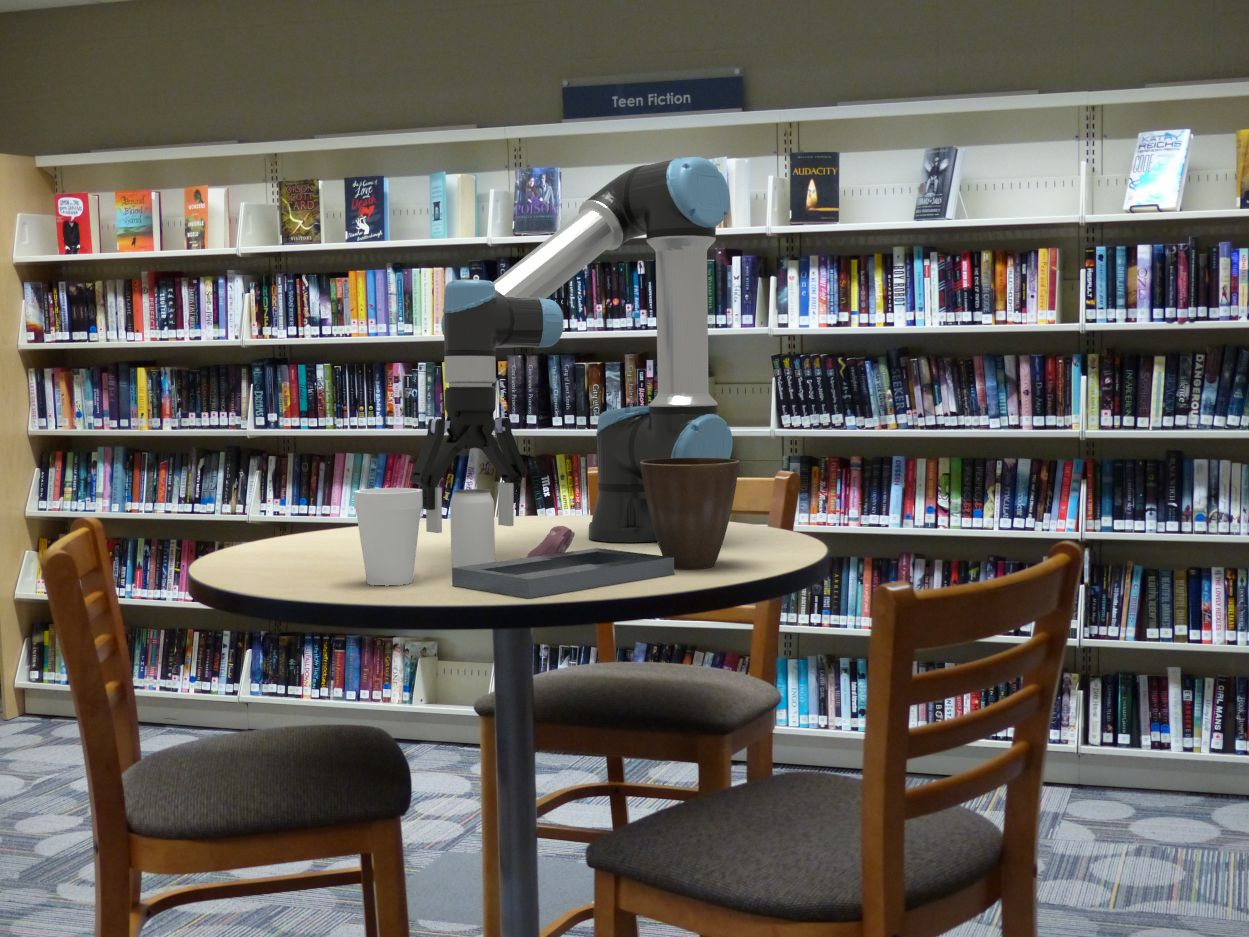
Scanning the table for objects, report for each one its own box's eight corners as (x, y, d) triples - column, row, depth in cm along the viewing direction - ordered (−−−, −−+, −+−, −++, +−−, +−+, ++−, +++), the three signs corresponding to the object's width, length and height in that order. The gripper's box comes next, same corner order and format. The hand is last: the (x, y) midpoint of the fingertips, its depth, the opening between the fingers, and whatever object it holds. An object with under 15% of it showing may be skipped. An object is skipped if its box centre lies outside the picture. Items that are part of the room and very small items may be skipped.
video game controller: (548, 577, 200) (568, 537, 199) (522, 563, 201) (541, 523, 200) (564, 568, 210) (583, 529, 209) (539, 555, 210) (557, 516, 209)
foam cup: (358, 589, 180) (356, 494, 180) (353, 579, 189) (351, 489, 188) (428, 585, 183) (426, 492, 182) (419, 576, 192) (417, 487, 191)
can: (500, 572, 195) (499, 491, 194) (457, 575, 193) (456, 493, 192) (488, 566, 201) (487, 488, 200) (446, 569, 199) (445, 489, 198)
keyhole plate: (597, 564, 203) (596, 547, 202) (674, 574, 191) (674, 557, 191) (452, 585, 183) (451, 567, 183) (528, 598, 172) (528, 579, 171)
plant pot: (735, 574, 191) (734, 463, 190) (633, 572, 194) (632, 463, 193) (743, 559, 206) (743, 457, 205) (648, 558, 209) (648, 457, 207)
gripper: (517, 385, 206) (517, 521, 208) (385, 385, 189) (386, 533, 190) (549, 385, 201) (550, 524, 203) (416, 385, 183) (418, 537, 185)
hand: (470, 529), depth 196 cm, fingers open, 13 cm apart
